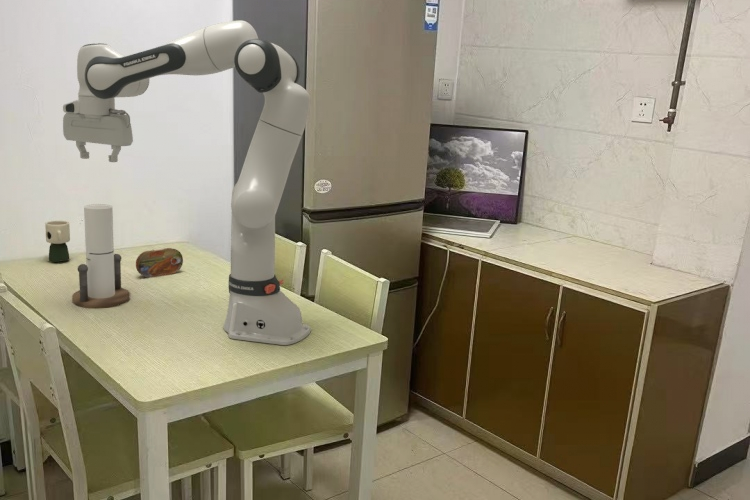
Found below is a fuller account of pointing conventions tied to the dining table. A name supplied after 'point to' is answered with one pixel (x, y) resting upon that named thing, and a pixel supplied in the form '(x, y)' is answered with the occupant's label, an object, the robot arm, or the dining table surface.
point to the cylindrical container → (99, 250)
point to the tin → (159, 262)
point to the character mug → (58, 240)
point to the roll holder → (118, 299)
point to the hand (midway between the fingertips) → (98, 160)
